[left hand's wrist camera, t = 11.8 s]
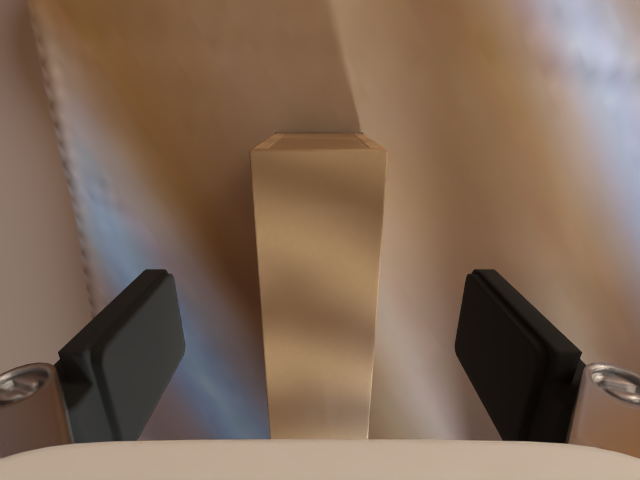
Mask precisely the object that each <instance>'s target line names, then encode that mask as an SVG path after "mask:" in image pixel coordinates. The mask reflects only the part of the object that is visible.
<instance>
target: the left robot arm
mask: <svg viewBox="0 0 640 480" xmlns="http://www.w3.org/2000/svg"><path fill="white" fill-rule="evenodd" d="M184 352H185V340H184V334H183V329H182V323H181V317H180V311H179V305H178V299H177V293H176V288H175V282H174V277H173V275H172V274H168V272H167V271H166V270H164V269H146V270H145V271H143V272H142V273H141V274H140V275H139V276H138V277H137V278H136V279H135V280H134V281H133V282H132V283H131V284H130V285H129V286H128V287H127V288H125V289H124V290H123V291H122V292H121V293H120V294H119V295H118V296H117V297H116V298H115V299H114V300H113V301H112V302H111V303H110V304H109V305H107V306H106V307H105V308H104V309H103V310H102V311H101V312H100V313H99V314H98V315H97V316H96V317H95V318H94V319H93V320H92V321H91V322H89V323H88V324H87V325H86V326H85V327H84V328H83V329H82V330H81V331H80V332H79V333H78V334H77V335H76V336H75V337H74V338H73V339H72V340H70V341H69V342H68V343H67V344H66V345H65V346H64V347H63V348H62V349H61V350H60V351H59V352H58V354H59V357H60V360H59V361H58V362H57V363H56V364H55V365H51V364H49V363H33V364H27V365H23V366H20V367H16V368H14V369H11V370H9V371H7V372H4V373H2V374H0V480H640V374H638V373H636V372H633V371H631V370H629V369H626V368H624V367H620V366H617V365H613V364H608V363H591V364H589V365H585V364H584V363H583V362H582V361H581V360H580V357H581V354H582V352H581V351H580V350H579V349H578V348H577V347H576V346H575V345H574V344H573V343H572V342H571V341H570V340H569V339H567V338H566V337H565V336H564V335H563V334H562V333H561V332H560V331H559V330H558V329H557V328H556V327H555V326H554V325H553V324H552V323H551V322H549V321H548V320H547V319H546V318H545V317H544V316H543V315H542V314H541V313H540V312H539V311H538V310H537V309H536V308H535V307H534V306H533V305H531V304H530V303H529V302H528V301H527V300H526V299H525V298H524V297H523V296H522V295H521V294H520V293H519V292H518V291H517V290H516V289H515V288H513V287H512V286H511V285H510V284H509V283H508V282H507V281H506V280H505V279H504V278H503V277H502V276H501V275H500V274H499V273H498V272H497V271H495V270H494V269H476V270H474V271H473V272H472V274H468V275H467V277H466V282H465V288H464V293H463V299H462V305H461V311H460V317H459V323H458V328H457V334H456V340H455V352H456V355H457V357H458V359H459V361H460V363H461V364H462V366H463V368H464V370H465V372H466V374H467V375H468V377H469V379H470V381H471V383H472V385H473V387H474V388H475V390H476V392H477V394H478V396H479V398H480V399H481V401H482V403H483V405H484V407H485V409H486V410H487V412H488V414H489V416H490V418H491V420H492V421H493V423H494V425H495V427H496V429H497V431H498V432H499V434H500V436H501V438H502V440H503V441H480V440H402V439H238V440H160V441H137V440H138V438H139V436H140V434H141V432H142V431H143V429H144V427H145V425H146V423H147V421H148V420H149V418H150V416H151V414H152V412H153V410H154V409H155V407H156V405H157V403H158V401H159V399H160V398H161V396H162V394H163V392H164V390H165V388H166V387H167V385H168V383H169V381H170V379H171V377H172V375H173V374H174V372H175V370H176V368H177V366H178V364H179V363H180V361H181V359H182V357H183V355H184Z"/></svg>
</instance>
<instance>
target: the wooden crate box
mask: <svg viewBox="0 0 640 480" xmlns="http://www.w3.org/2000/svg"><path fill="white" fill-rule="evenodd" d="M387 156H388V151H387V150H386V149H384V148H383V147H381V146H380V145H379V144H377V143H376V142H374V141H373V140H371V139H370V138H368V137H367V136H365V135H364V134H363V133H275V134H274V135H273V136H271V137H270V138H268V139H267V140H265V141H264V142H262V143H261V144H259V145H257V146H256V147H254V148H253V149H251V150H250V165H251V179H252V193H253V207H254V220H255V234H256V248H257V262H258V276H259V290H260V304H261V317H262V331H263V345H264V359H265V373H266V387H267V401H268V414H269V428H270V439H368V431H369V416H370V402H371V387H372V373H373V359H374V344H375V330H376V315H377V301H378V286H379V272H380V257H381V243H382V228H383V214H384V199H385V185H386V170H387Z"/></svg>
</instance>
